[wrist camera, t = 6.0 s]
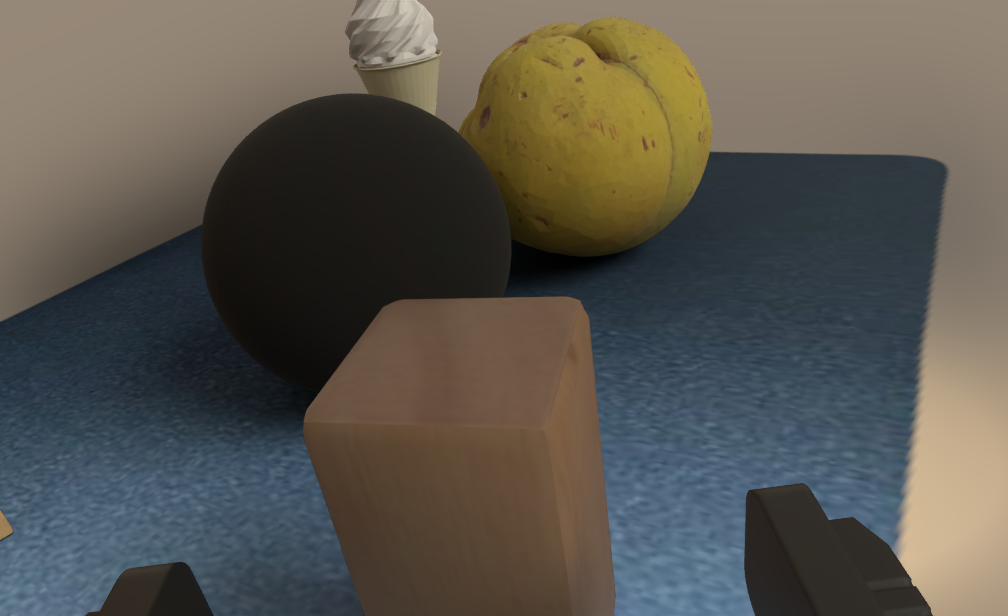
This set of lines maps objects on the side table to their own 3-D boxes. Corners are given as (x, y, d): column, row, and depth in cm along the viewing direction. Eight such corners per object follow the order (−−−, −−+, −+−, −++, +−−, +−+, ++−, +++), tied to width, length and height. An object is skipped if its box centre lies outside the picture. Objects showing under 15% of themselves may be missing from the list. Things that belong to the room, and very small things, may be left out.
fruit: (721, 200, 37) (721, -12, 32) (701, 314, 27) (697, 35, 22) (514, 204, 40) (488, 15, 36) (433, 305, 31) (382, 65, 26)
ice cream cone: (368, 209, 43) (299, -71, 36) (412, 180, 47) (359, -78, 40) (439, 212, 41) (380, -85, 34) (480, 181, 45) (435, -91, 38)
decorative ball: (578, 392, 24) (543, 84, 19) (275, 507, 21) (147, 178, 16) (470, 284, 32) (428, 51, 27) (244, 355, 29) (153, 109, 25)
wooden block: (618, 593, 17) (589, 287, 13) (599, 772, 13) (553, 428, 9) (454, 578, 18) (383, 291, 14) (398, 741, 14) (284, 419, 11)
